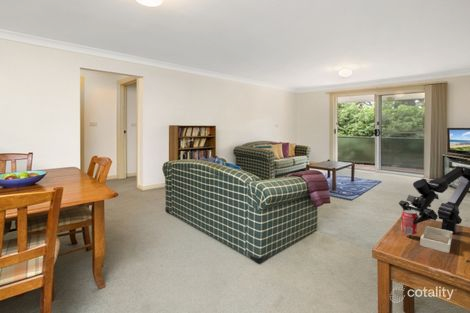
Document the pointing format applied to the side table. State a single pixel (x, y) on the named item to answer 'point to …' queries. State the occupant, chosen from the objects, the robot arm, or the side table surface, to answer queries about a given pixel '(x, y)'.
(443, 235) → the can carrier
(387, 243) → the side table surface
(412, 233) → the soda can
